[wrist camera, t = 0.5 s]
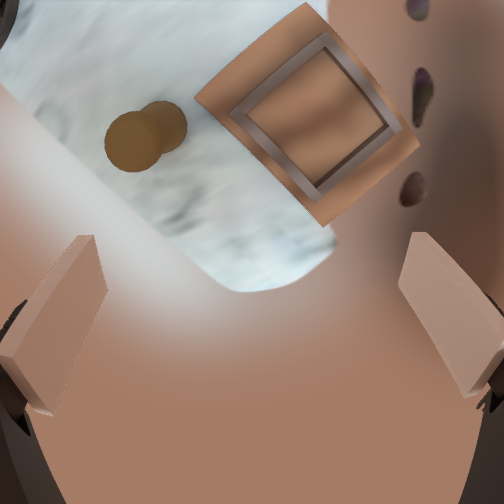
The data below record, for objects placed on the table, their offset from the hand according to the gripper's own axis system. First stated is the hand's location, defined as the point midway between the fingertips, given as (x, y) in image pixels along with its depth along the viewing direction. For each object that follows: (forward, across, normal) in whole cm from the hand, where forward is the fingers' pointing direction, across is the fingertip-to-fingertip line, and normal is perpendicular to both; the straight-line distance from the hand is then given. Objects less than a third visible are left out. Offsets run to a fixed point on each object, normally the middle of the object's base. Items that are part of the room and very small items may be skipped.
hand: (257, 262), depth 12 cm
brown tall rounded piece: (+25, -9, +2) cm, 26 cm away
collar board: (+24, +8, +3) cm, 26 cm away
